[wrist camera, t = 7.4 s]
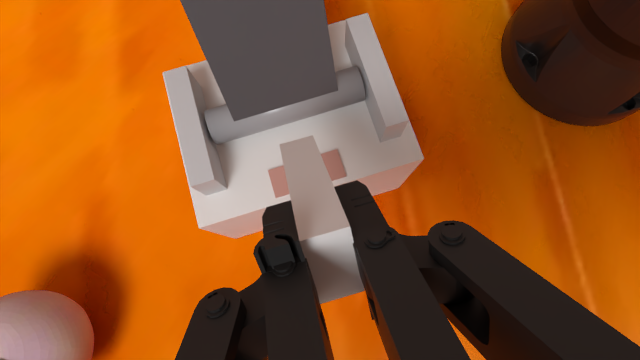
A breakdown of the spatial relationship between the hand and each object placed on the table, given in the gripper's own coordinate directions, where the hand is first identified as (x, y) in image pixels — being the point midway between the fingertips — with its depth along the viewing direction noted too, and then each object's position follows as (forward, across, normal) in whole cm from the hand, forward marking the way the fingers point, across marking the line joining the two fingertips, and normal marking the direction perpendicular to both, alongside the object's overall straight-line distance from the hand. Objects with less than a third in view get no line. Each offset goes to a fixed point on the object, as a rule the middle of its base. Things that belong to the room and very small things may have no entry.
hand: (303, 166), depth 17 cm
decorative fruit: (+11, -24, -16) cm, 31 cm away
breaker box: (+18, 0, -9) cm, 20 cm away
